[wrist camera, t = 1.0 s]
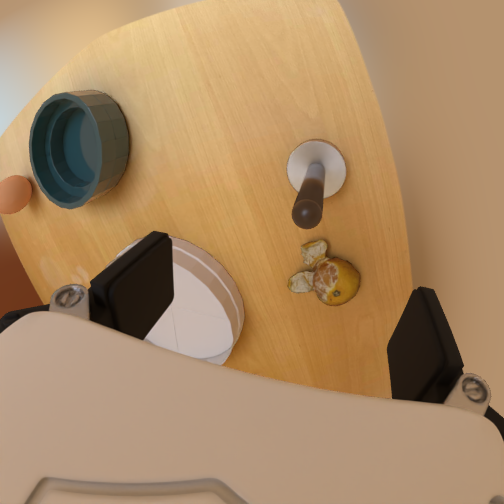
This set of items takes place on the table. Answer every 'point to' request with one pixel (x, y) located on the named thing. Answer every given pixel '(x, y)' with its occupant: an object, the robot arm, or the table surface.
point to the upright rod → (314, 179)
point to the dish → (198, 306)
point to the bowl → (78, 147)
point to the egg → (14, 194)
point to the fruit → (326, 276)
